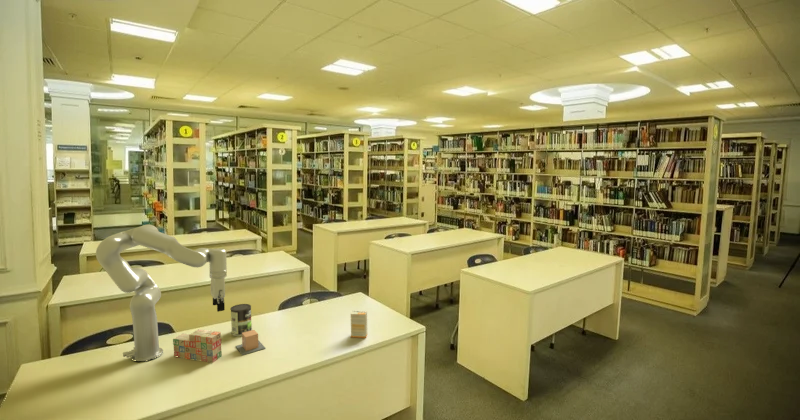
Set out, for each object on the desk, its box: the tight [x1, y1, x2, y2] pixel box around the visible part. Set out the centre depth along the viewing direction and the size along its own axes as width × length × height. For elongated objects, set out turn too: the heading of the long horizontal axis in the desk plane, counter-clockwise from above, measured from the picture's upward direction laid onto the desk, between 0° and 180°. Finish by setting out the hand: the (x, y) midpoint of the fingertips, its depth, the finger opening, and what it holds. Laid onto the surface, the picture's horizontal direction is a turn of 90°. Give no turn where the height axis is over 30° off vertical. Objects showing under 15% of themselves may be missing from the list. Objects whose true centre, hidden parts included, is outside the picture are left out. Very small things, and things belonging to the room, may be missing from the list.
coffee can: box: [230, 303, 253, 337], centre depth 206 cm, size 10×10×14 cm
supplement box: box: [350, 310, 368, 339], centre depth 203 cm, size 8×5×13 cm, turn 84°
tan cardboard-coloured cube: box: [241, 329, 259, 351], centre depth 189 cm, size 6×6×7 cm
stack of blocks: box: [172, 329, 223, 364], centre depth 179 cm, size 21×6×12 cm, turn 77°
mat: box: [235, 339, 266, 356], centre depth 189 cm, size 11×11×1 cm
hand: (218, 307), depth 187 cm, fingers open, 9 cm apart
